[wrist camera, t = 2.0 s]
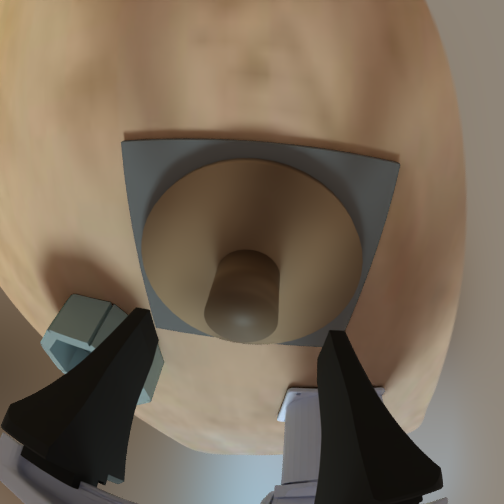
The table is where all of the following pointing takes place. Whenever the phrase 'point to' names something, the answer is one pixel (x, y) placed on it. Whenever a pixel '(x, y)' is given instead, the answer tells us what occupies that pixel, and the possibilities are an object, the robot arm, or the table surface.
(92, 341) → the bowl
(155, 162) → the mat
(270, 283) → the lid
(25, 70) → the table surface
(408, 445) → the robot arm
